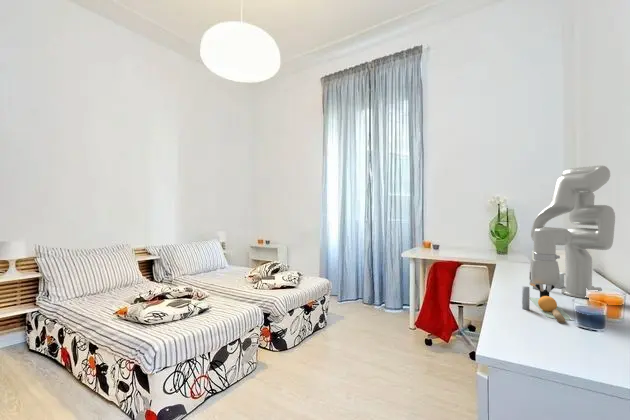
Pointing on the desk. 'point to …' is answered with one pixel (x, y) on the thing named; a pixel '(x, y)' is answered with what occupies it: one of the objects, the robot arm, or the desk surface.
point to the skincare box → (561, 280)
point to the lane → (549, 314)
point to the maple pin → (558, 316)
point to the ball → (547, 303)
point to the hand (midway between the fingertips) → (544, 300)
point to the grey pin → (525, 298)
